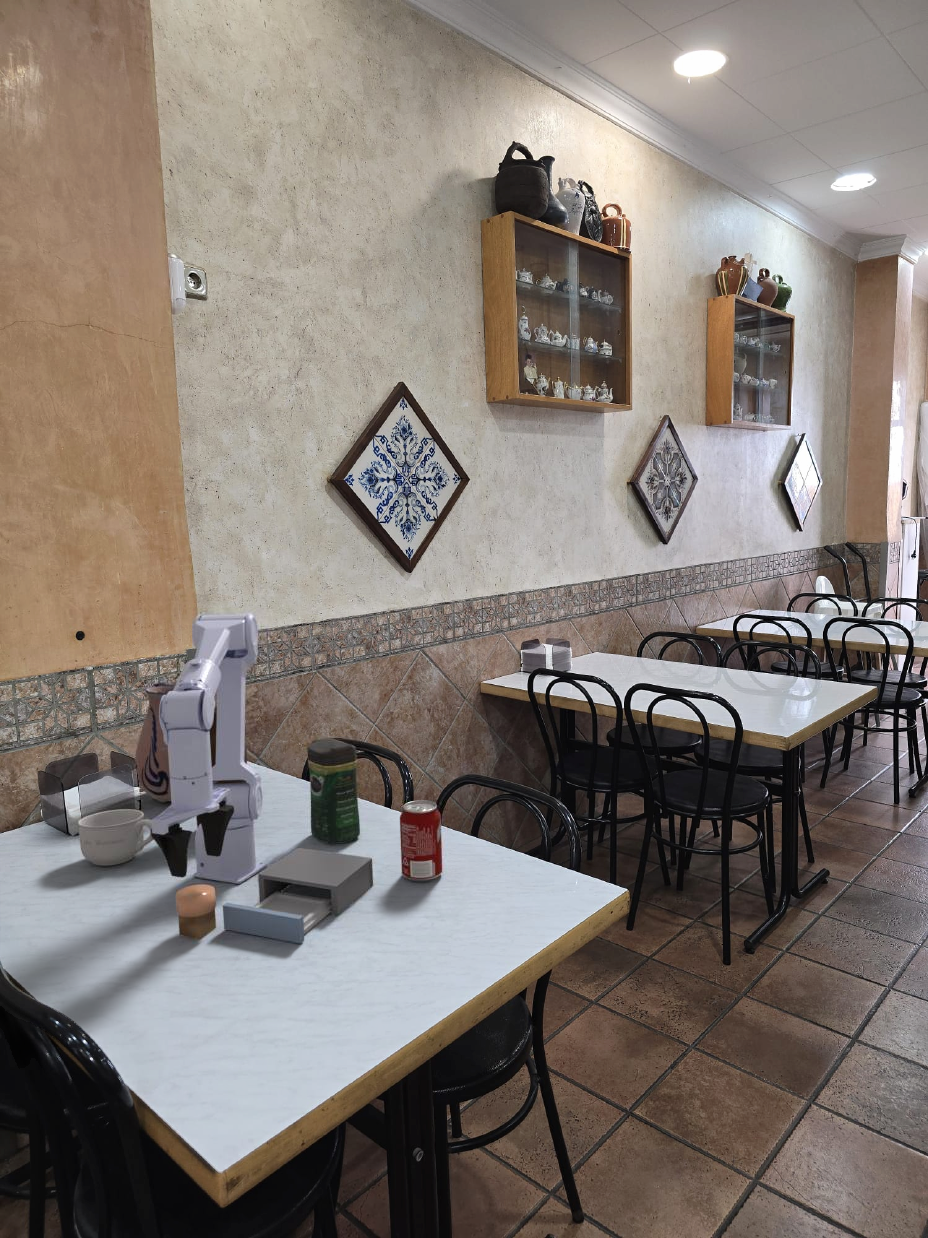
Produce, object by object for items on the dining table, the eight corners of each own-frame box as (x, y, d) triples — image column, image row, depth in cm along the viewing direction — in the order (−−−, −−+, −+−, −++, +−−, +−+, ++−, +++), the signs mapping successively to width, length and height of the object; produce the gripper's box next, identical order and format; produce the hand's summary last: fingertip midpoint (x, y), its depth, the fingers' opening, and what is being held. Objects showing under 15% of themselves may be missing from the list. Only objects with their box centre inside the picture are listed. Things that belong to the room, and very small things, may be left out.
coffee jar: (367, 838, 154) (363, 741, 152) (329, 849, 149) (325, 749, 147) (341, 824, 162) (337, 732, 160) (304, 834, 157) (300, 739, 155)
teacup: (67, 867, 144) (63, 823, 144) (114, 844, 154) (111, 803, 154) (128, 878, 139) (125, 832, 138) (173, 854, 149) (170, 811, 148)
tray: (224, 929, 120) (222, 905, 119) (268, 897, 130) (267, 875, 129) (300, 943, 115) (299, 919, 114) (340, 909, 125) (339, 886, 125)
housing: (259, 902, 128) (258, 874, 128) (299, 874, 139) (298, 847, 138) (337, 916, 123) (336, 886, 123) (373, 885, 134) (372, 858, 133)
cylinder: (168, 914, 118) (167, 897, 117) (193, 898, 123) (192, 882, 122) (199, 919, 116) (198, 903, 115) (223, 903, 121) (222, 887, 120)
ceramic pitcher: (183, 780, 194) (177, 675, 191) (249, 792, 183) (243, 682, 181) (119, 802, 179) (111, 689, 176) (186, 817, 168) (178, 697, 166)
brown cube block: (179, 935, 119) (177, 912, 118) (196, 924, 122) (194, 901, 122) (199, 939, 117) (198, 915, 117) (216, 927, 121) (214, 904, 120)
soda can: (437, 885, 133) (435, 813, 132) (396, 883, 134) (394, 811, 133) (446, 868, 139) (444, 800, 138) (408, 866, 141) (405, 798, 140)
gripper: (178, 791, 109) (185, 889, 110) (245, 761, 122) (250, 850, 124) (136, 786, 112) (143, 882, 113) (206, 758, 125) (212, 844, 126)
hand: (196, 865), depth 119 cm, fingers open, 7 cm apart
